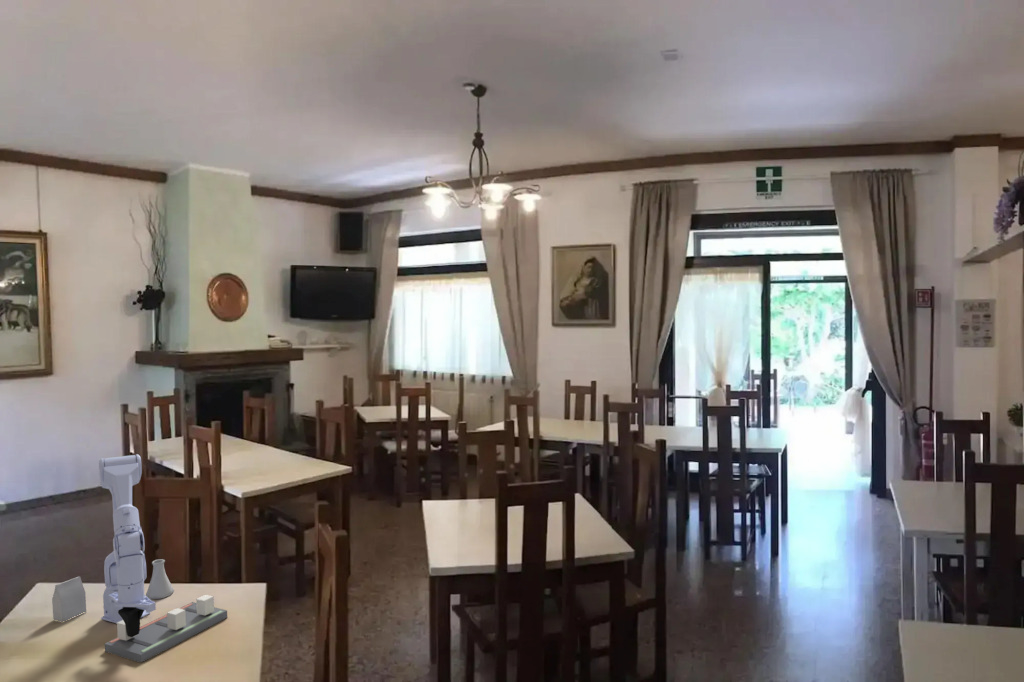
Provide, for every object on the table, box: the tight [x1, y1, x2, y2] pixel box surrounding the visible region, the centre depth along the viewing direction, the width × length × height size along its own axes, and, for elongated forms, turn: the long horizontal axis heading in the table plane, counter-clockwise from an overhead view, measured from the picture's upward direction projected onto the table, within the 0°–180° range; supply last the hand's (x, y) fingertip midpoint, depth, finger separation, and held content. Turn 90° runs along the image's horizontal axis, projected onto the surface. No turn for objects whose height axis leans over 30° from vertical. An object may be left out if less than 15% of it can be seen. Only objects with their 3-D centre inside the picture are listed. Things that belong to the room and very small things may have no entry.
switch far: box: [195, 594, 215, 615], centre depth 192 cm, size 3×3×4 cm
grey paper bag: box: [51, 576, 87, 622], centre depth 196 cm, size 4×7×10 cm, turn 156°
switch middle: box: [166, 607, 186, 630], centre depth 184 cm, size 3×3×4 cm
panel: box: [104, 601, 228, 663], centre depth 185 cm, size 13×26×2 cm, turn 155°
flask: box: [145, 558, 175, 600], centre depth 209 cm, size 7×7×10 cm
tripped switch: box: [116, 620, 137, 641], centre depth 178 cm, size 3×3×4 cm
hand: (133, 635), depth 177 cm, fingers closed
